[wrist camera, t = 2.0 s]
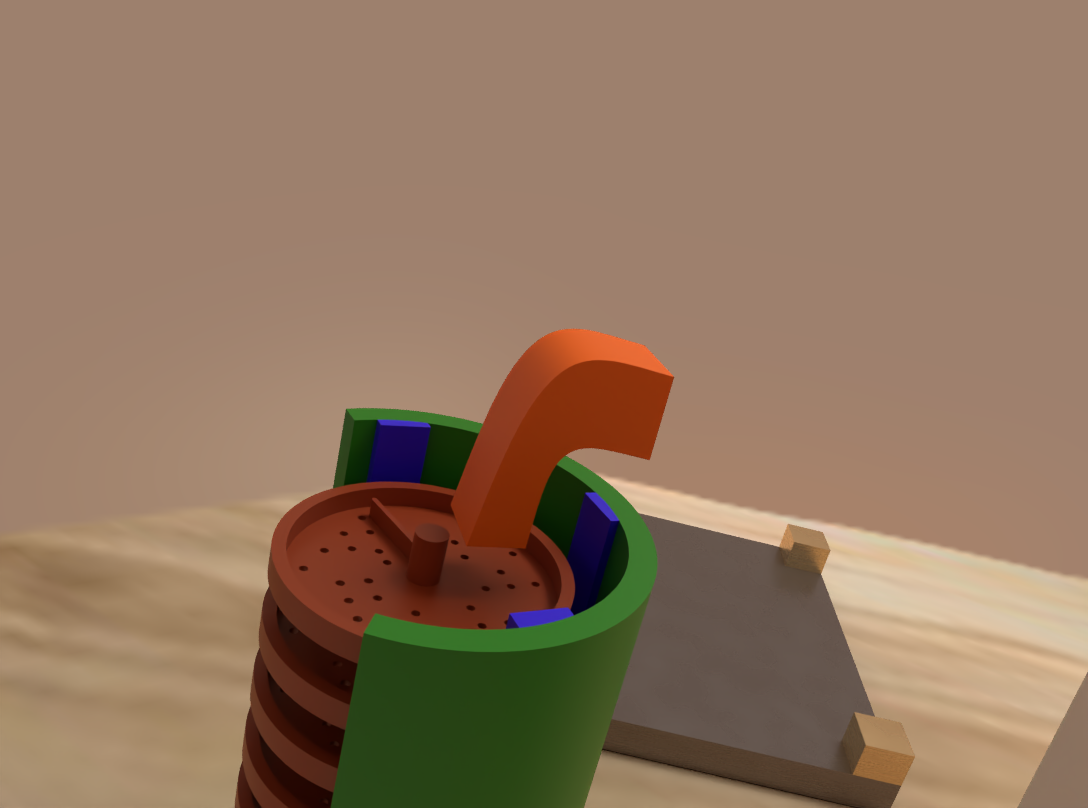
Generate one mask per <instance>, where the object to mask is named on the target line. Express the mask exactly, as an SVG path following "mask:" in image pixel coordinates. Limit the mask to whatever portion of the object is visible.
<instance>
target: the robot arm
mask: <svg viewBox="0 0 1088 808" xmlns="http://www.w3.org/2000/svg"><path fill="white" fill-rule="evenodd" d="M1017 808H1088V672H1087V674H1086V676H1085V678H1084V680H1083V682H1082V684H1081V686H1080V688H1079V690H1078V692H1077V694H1076V695H1075V697H1074V699H1073V701H1072V703H1071V705H1070V707H1069V709H1068V711H1067V713H1066V715H1065V717H1064V719H1063V721H1062V722H1061V724H1060V726H1059V728H1058V730H1057V732H1056V734H1055V736H1054V738H1053V740H1052V742H1051V744H1050V746H1049V748H1048V750H1047V751H1046V753H1045V755H1044V757H1043V759H1042V761H1041V763H1040V765H1039V767H1038V769H1037V771H1036V773H1035V775H1034V777H1033V778H1032V780H1031V782H1030V784H1029V786H1028V788H1027V790H1026V792H1025V794H1024V796H1023V798H1022V800H1021V802H1020V804H1019V806H1018V807H1017Z"/></svg>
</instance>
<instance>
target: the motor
mask: <svg viewBox="0 0 1088 808" xmlns="http://www.w3.org/2000/svg"><path fill="white" fill-rule="evenodd" d="M673 379H674V377H673V375H672V374H671V373H670V372H669V371H668V370H667V369H666V368H665V367H664V366H663V365H662V364H661V363H660V362H659V361H658V359H657V358H656V357H655V356H654V355H653V354H652V353H651V352H650V351H649V350H648V349H647V348H646V347H645V346H644V345H641V344H637V343H634V342H630V341H627V340H624V339H621V338H617V337H614V336H610V335H607V334H603V333H599V332H595V331H590V330H583V329H565V330H559V331H555V332H552V333H550V334H547V335H546V336H544V337H542V338H541V339H539V340H538V341H537V342H536V343H534V344H533V345H532V346H531V347H530V348H529V349H528V350H527V351H526V352H525V353H524V354H523V355H522V357H521V358H520V359H519V360H518V362H517V363H516V364H515V365H514V367H513V368H512V370H511V371H510V373H509V374H508V376H507V378H506V379H505V381H504V383H503V384H502V386H501V388H500V390H499V392H498V394H497V396H496V398H495V400H494V402H493V403H492V406H491V408H490V410H489V412H488V414H487V417H486V419H485V421H484V423H483V424H481V423H477V422H473V421H469V420H465V419H460V418H455V417H450V416H445V415H439V414H433V413H426V412H419V411H409V410H398V409H377V408H375V409H374V408H357V409H346V413H345V419H344V425H343V431H342V438H341V443H340V450H339V455H338V461H337V468H336V473H335V480H334V486H333V489H329V490H326V491H323V492H321V493H318V494H315V495H313V496H311V497H309V498H307V499H305V500H303V501H302V502H300V503H299V504H297V505H296V506H294V507H293V508H292V509H290V510H289V511H288V512H287V513H286V514H285V515H284V517H283V518H282V519H281V520H280V522H279V523H278V525H277V527H276V529H275V531H274V534H273V538H272V543H271V550H270V557H269V564H268V582H269V588H268V590H267V592H266V594H265V597H264V601H263V607H262V614H261V621H260V628H259V646H260V648H259V650H258V653H257V656H256V659H255V664H254V670H253V677H252V685H251V693H250V701H251V707H250V709H249V712H248V716H247V720H246V727H245V734H244V741H243V749H242V758H243V761H242V764H241V767H240V771H239V776H238V783H237V791H236V798H235V808H584V805H585V802H586V799H587V796H588V793H589V789H590V786H591V783H592V780H593V777H594V773H595V770H596V767H597V764H598V761H599V758H600V754H601V751H602V748H603V745H604V742H605V738H606V735H607V732H608V729H609V726H610V722H611V719H612V716H613V713H614V710H615V706H616V703H617V700H618V697H619V694H620V690H621V687H622V684H623V681H624V678H625V674H626V671H627V668H628V665H629V662H630V658H631V655H632V652H633V649H634V646H635V643H636V639H637V636H638V633H639V630H640V627H641V623H642V620H643V617H644V614H645V611H646V607H647V604H648V601H649V598H650V595H651V591H652V588H653V585H654V582H655V578H656V574H657V552H656V548H655V544H654V541H653V538H652V536H651V533H650V531H649V529H648V527H647V526H646V524H645V522H644V521H643V519H642V518H641V516H640V515H639V514H638V512H637V511H636V510H635V509H634V507H633V506H632V505H631V504H630V503H629V502H628V501H627V500H626V499H625V498H624V497H623V496H622V495H621V494H620V493H619V492H618V491H617V490H616V489H615V488H613V487H612V486H611V485H610V484H608V483H607V482H606V481H605V480H603V479H602V478H601V477H599V476H598V475H596V474H595V473H593V472H592V471H591V470H589V469H587V468H586V467H584V466H583V465H581V464H579V463H577V462H575V461H574V460H572V459H570V458H569V457H567V456H566V455H567V454H568V453H570V452H572V451H575V450H578V449H583V448H597V449H604V450H609V451H614V452H618V453H623V454H627V455H631V456H635V457H639V458H643V459H647V460H650V457H651V453H652V450H653V447H654V443H655V440H656V437H657V433H658V430H659V426H660V423H661V420H662V416H663V413H664V409H665V406H666V403H667V399H668V396H669V393H670V389H671V386H672V382H673Z"/></svg>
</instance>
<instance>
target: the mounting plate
mask: <svg viewBox="0 0 1088 808" xmlns="http://www.w3.org/2000/svg"><path fill="white" fill-rule="evenodd" d="M638 514H639V515H640V516H641V518H642V519H643V521H644V522H645V524H646V526H647V527H648V529H649V531H650V533H651V536H652V538H653V541H654V544H655V548H656V552H657V574H656V578H655V582H654V585H653V588H652V591H651V595H650V598H649V601H648V604H647V607H646V611H645V614H644V617H643V620H642V623H641V627H640V630H639V633H638V636H637V639H636V643H635V646H634V649H633V652H632V655H631V658H630V662H629V665H628V668H627V671H626V674H625V678H624V681H623V684H622V687H621V690H620V694H619V697H618V700H617V703H616V706H615V710H614V713H613V716H612V719H611V722H610V726H609V729H608V732H607V735H606V738H605V742H604V745H603V748H602V749H605V750H610V751H614V752H618V753H623V754H627V755H631V756H636V757H640V758H644V759H649V760H653V761H657V762H662V763H666V764H671V765H675V766H679V767H684V768H688V769H692V770H697V771H701V772H705V773H710V774H714V775H718V776H723V777H727V778H731V779H736V780H740V781H744V782H749V783H753V784H758V785H762V786H766V787H771V788H775V789H779V790H784V791H788V792H792V793H797V794H801V795H805V796H810V797H814V798H818V799H823V800H827V801H832V802H836V803H840V804H845V805H849V806H853V807H858V808H891V806H892V804H893V802H894V800H895V798H896V796H897V793H898V791H899V789H900V787H901V785H902V783H903V781H904V779H905V777H906V775H907V772H908V770H909V768H910V766H911V764H912V762H913V760H914V758H915V755H914V753H913V750H912V748H911V745H910V743H909V741H908V738H907V736H906V733H905V731H904V728H903V726H902V724H901V723H900V722H895V721H891V720H887V719H882V718H878V717H875V716H874V713H873V710H872V708H871V705H870V702H869V700H868V697H867V694H866V692H865V689H864V687H863V684H862V681H861V679H860V676H859V673H858V671H857V668H856V665H855V663H854V660H853V657H852V655H851V652H850V650H849V647H848V644H847V642H846V639H845V636H844V634H843V631H842V628H841V626H840V623H839V620H838V618H837V615H836V613H835V610H834V607H833V605H832V602H831V599H830V597H829V594H828V591H827V589H826V586H825V584H824V581H823V578H822V576H821V573H822V570H823V568H824V565H825V563H826V560H827V558H828V555H829V553H830V549H829V546H828V544H827V541H826V539H825V536H824V534H823V532H819V531H815V530H811V529H807V528H803V527H799V526H795V525H790V524H788V525H787V528H786V531H785V533H784V536H783V538H782V541H781V544H780V546H779V547H777V546H773V545H769V544H765V543H761V542H756V541H752V540H748V539H744V538H740V537H736V536H731V535H727V534H723V533H719V532H715V531H711V530H706V529H702V528H698V527H694V526H690V525H686V524H681V523H677V522H673V521H669V520H665V519H661V518H656V517H652V516H648V515H644V514H640V513H638Z"/></svg>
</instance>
